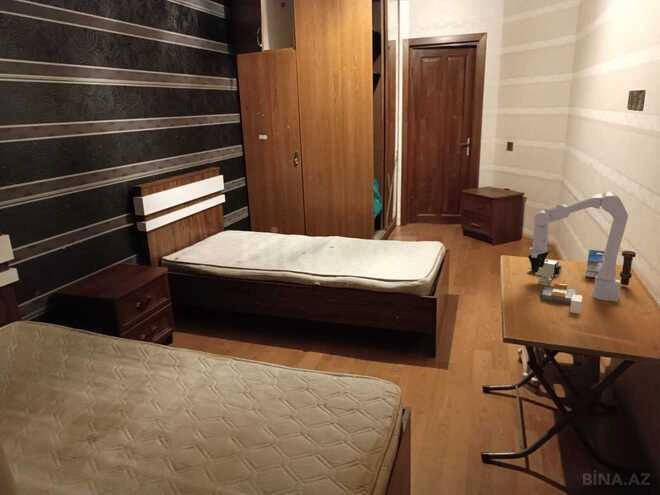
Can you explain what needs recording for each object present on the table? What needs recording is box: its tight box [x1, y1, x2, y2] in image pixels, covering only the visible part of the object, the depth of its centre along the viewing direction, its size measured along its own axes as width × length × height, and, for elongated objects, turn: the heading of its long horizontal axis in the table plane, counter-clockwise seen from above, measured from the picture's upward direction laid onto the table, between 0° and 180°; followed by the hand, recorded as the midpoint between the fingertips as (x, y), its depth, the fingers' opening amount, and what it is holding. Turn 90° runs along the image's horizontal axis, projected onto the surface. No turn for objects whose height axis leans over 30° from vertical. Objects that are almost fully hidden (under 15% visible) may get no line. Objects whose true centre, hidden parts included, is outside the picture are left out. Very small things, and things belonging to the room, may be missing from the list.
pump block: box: [569, 294, 583, 315], centre depth 188 cm, size 4×7×5 cm, turn 150°
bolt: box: [619, 250, 637, 286], centre depth 210 cm, size 6×5×15 cm
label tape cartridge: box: [585, 249, 605, 279], centre depth 221 cm, size 9×4×12 cm, turn 61°
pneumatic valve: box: [530, 258, 563, 286], centre depth 214 cm, size 6×12×12 cm, turn 53°
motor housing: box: [540, 282, 577, 305], centre depth 200 cm, size 15×12×4 cm
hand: (537, 269), depth 208 cm, fingers open, 7 cm apart
